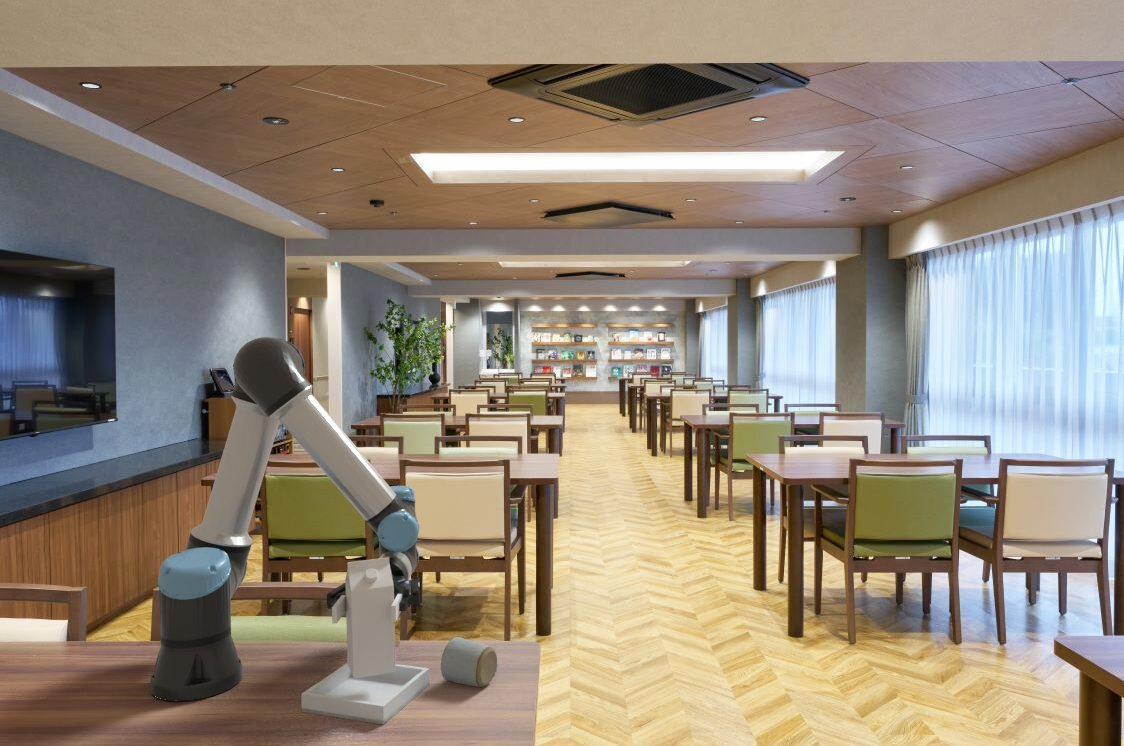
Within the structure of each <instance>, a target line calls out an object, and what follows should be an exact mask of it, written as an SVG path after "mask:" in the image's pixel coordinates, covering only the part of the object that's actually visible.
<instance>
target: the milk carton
mask: <svg viewBox="0 0 1124 746" xmlns="http://www.w3.org/2000/svg"><path fill="white" fill-rule="evenodd" d="M346 564H347V571H346V574H345V575H346V576H345V581H344V583H345V585H346V612H345V614H346V615H345V617H346V620H345V621H346V623H345V624H346V651H347V652H346V653H347V659H346V660H347V663H348V665H349V668H350V671H351V673H352V676H353V678H354V679H356V678H362V677H368V676H373V675H379V674H384V673H390V672H395V671H396V664H397V663H396V659H397V658H396V632H395V631H396V628H395V627H396V625H395V622H391V605H392V603H393V602H394V600H395V599H394V584H393V579H392V574H391V569H390V562H389V557H388V558H380V559H378V558H374V559H365V560H364V559H363V560H356V561H348V562H347V563H346Z"/></svg>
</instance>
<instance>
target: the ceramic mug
mask: <svg viewBox="0 0 1124 746" xmlns="http://www.w3.org/2000/svg"><path fill="white" fill-rule="evenodd" d="M498 668H499V663H498V657H497V653H496V650H495V649H494V648H493V647H492V646H489V645H487V644H485V643H482V642H481V643H480V642H478V641H474V640H470V639H467V638H463V637H460V636H454V637H452V638H451V639H450V640H449V641H448V642H447V644H446V645H445V647H444V649H443V651H442V655H441V661H440V672H441V676H442V677H443V679H444V680H445V681H449V682H453V683H457V684H461V685H467V686H470V687H471V686H472V687H476V688H477V687H478V688H479V687H481V688H482V687H486V686H488V685H489V684H490V683H491V682H492V680H493V678H494V677H495V674H496V673H497V671H498Z"/></svg>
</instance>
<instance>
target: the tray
mask: <svg viewBox="0 0 1124 746" xmlns="http://www.w3.org/2000/svg"><path fill="white" fill-rule="evenodd" d="M429 686H430V668H428V667H421V666H413V665H407V664H399V663H398V664H397V663H396V671H395V672H390V673H384V674H379V675H373V676H368V677H362V678H356V679H354V678H353V676H352V673H351V671H350V668H349V665H348V662H347V663H345V664H344V665H342V666H341V667H339V668H338V669H336V670H335V671H333V672H331V673H330V674H329V675H328V676H326V677H324V678H323V679H321V680H320V681H318V682H317V683H315V684H314V685H312V686H311V687H309V688H307V689H306V690H305V691H303V692H302V693H301V713H309V714H314V715H320V716H327V717H331V718H332V717H333V718H340V719H346V720H351V721H352V720H353V721H359V722H365V723H370V724H376V725H385V724H386V723H388V722H389V721H390V720H391V719H393V718H394V716H396V715H397V714H398V713H399V712H400V711H401V710H403V708H405V707H406V706H407V705H408V704H409V703H410V702H412V701H413V700H414V699H416V697H417V696H419V695H420V694H421V693H422V692H423V691H424V690H425V689H426V688H428V687H429Z"/></svg>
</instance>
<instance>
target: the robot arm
mask: <svg viewBox="0 0 1124 746" xmlns="http://www.w3.org/2000/svg"><path fill="white" fill-rule="evenodd" d="M232 368H233V369H232V371H233V376H234V378H235V382H234V386H233V390H232V393H231V395H230V397H231V399H232V401H233V402H234V404H235V411H234V414H233V415H234V416H233V418H232V421H231V424H230V428H229V430H228V435H227V438H226V441H225V445H224V447H223V448H224V449H223V452H222V455H221V459H220V461H219V465H218V468H217V472H216V475H215V478H214V482H213V485H212V489H211V492H210V496H209V498H208V502H207V505H206V509H205V513H204V516H203V519H202V521H201V523H200V524H198V525H196V526H195V527H193V528H192V529H191V530H190V533H189V536H188V540H187V543H186V547H185V549H184V550H181V551H179V552H178V553H173V554H171V555H169V556H168V557H166V558H165V559H164V560H163V561H162V562H161V564H160V565H159V573H158V578H157V586H158V596H159V597H158V598H159V600H158V601H159V633H160V634H159V635H160V648H159V651H158V654H157V658H156V661H155V665H154V668H153V669H154V670H153V672H152V674H151V677H150V694H151V693H152V694H153V695H154V696H156V697H158V698H161V699H166V700H173V701H172V702H182V701H181V700H188V701H195V700H194V699H196V700H200V698H201V699H206V698H209V697H212V696H213V697H214V696H216V695H218V694H221V693H224V692H226V691H228V690H230V689H232V688H234V687H235V686H237V684H239V683H240V682H241V681H242V679H243V663H242V662H243V661H241V658H240V657H239V656H238V652H237V649H236V645H235V643H234V640H233V637H232V614H231V611H232V608H231V607H232V606H231V603H232V602H231V599H232V597H233V596H234V594H235V593H236V591H237V589H239V587H240V586H241V584H242V582H243V581H244V579H245V576H246V573H247V569H248V558H249V555H250V552H251V547H252V545H253V539H252V537H251V536H250V535H249V532H248V530H249V527H250V523H251V520H252V517H253V513H254V511H255V510H254V509H255V506H256V503H257V499H258V496H259V494H260V493H259V492H260V489H261V487H262V483H263V479H264V475H265V473H266V470H267V466H268V463H269V459H270V455H271V453H272V449H273V445H274V441H275V439H276V435H277V431H278V430H279V426H280V423H281V424H282V425H283V427H284V428H285V429H286V430H287V431H288V433H290V435H291V436H292V437H293V438H294V439H295V440H296V442H297V443H298V444H299V445H300V446H301V448H302V449H303V450H304V451H305V452H306V453H307V454H308V455H309V458H311V460H312V461H314V463H315V464H316V465H317V466H318V467H319V469H321V471H322V472H323V473H324V474H325V475H326V476H327V478H328V479H329V481H331V483H333V485H335V487H336V488H337V489H338V490H339V491H340V493H341V494H342V495H343V496H344V498H346V500H347V501H348V502H349V503H350V504H351V505H352V506H353V507H354V509H355V510H356V511H357V513H359V514H360V516H361V517H362V518H363V519H364V521H365V522H366V523H367V525H368V526H369V527H370V528H371V530H373V531H374V533H375V534H376V535H377V538H378V546H379V547H378V551H379V555H378V558H377V559H380V558H388V557H389V562H390V569H391V574H392V579H393V584H394V602H393V603H392V605H391V622H397V620H398V618H399V616H400V614H401V613H402V612H406V611H407V610H408V608H409V607H410V606H411V605H413V607H420V606H421V603H422V602H421V590H420V588H421V585H420V577H419V576H415V577H412V578H411V576H412V574H413V573H414V572H415V570H416V569H417V567H418V565H419V560H420V553H419V549H418V546H417V540H418V538H419V532H420V524H419V521H418V519H417V513H416V499H415V489H414V488H413V487H412V486H409V485H392V486H390V485H389V484H388V482H387V481H386V480H385V479H384V478H383V477H382V476H381V474H380V473H379V472H378V470H376V468H375V467H374V465H372V463H370V461H369V460H368V459H367V457H365V455H364V454H363V453H362V451H361V450H359V448H358V447H357V446H356V445H355V443H354V442H353V441H352V439H350V437H349V436H348V434H346V433H345V431H343V429H342V428H341V426H339V424H338V423H337V422H336V421H335V420H334V418H333V417H332V416H331V414H330V413H329V412H328V411H327V410H326V409H325V408H324V406H323V405H322V404H321V403H320V402H319V401H318V399H317V398H316V396H314V394H313V384H312V383H311V382H310V381H309V380H308V378H306V376H305V373H306V364H305V360H304V357H303V354H302V353H301V351H300V350H299V348H297V347H296V346H295V345H294V344H293V343H291V342H290V341H288V340H286V339H283V338H278V337H269V336H268V337H266V336H264V337H263V336H262V337H257V338H253V339H251V340H250V341H248V342H246V343H245V344H243V345H242V346H241V347H240V348H239V350H238V351H237V353H236V354H235V357H234V359H233V366H232ZM326 609H329V610H331V611H330V612H331V622H332V624H338V622H339V621H340V620H341V618H342V617H343V616H344V614H346V585H345V582H343V583H342V584H340V585H339V586H338V587H336V588H334V589H332V590H331V591H329V592H327V594H326ZM152 694H151V695H152ZM153 695H152V696H153ZM154 696H153V697H154ZM161 699H160V700H161ZM166 700H165V701H166ZM175 700H177V701H175ZM179 700H180V701H179Z"/></svg>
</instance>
